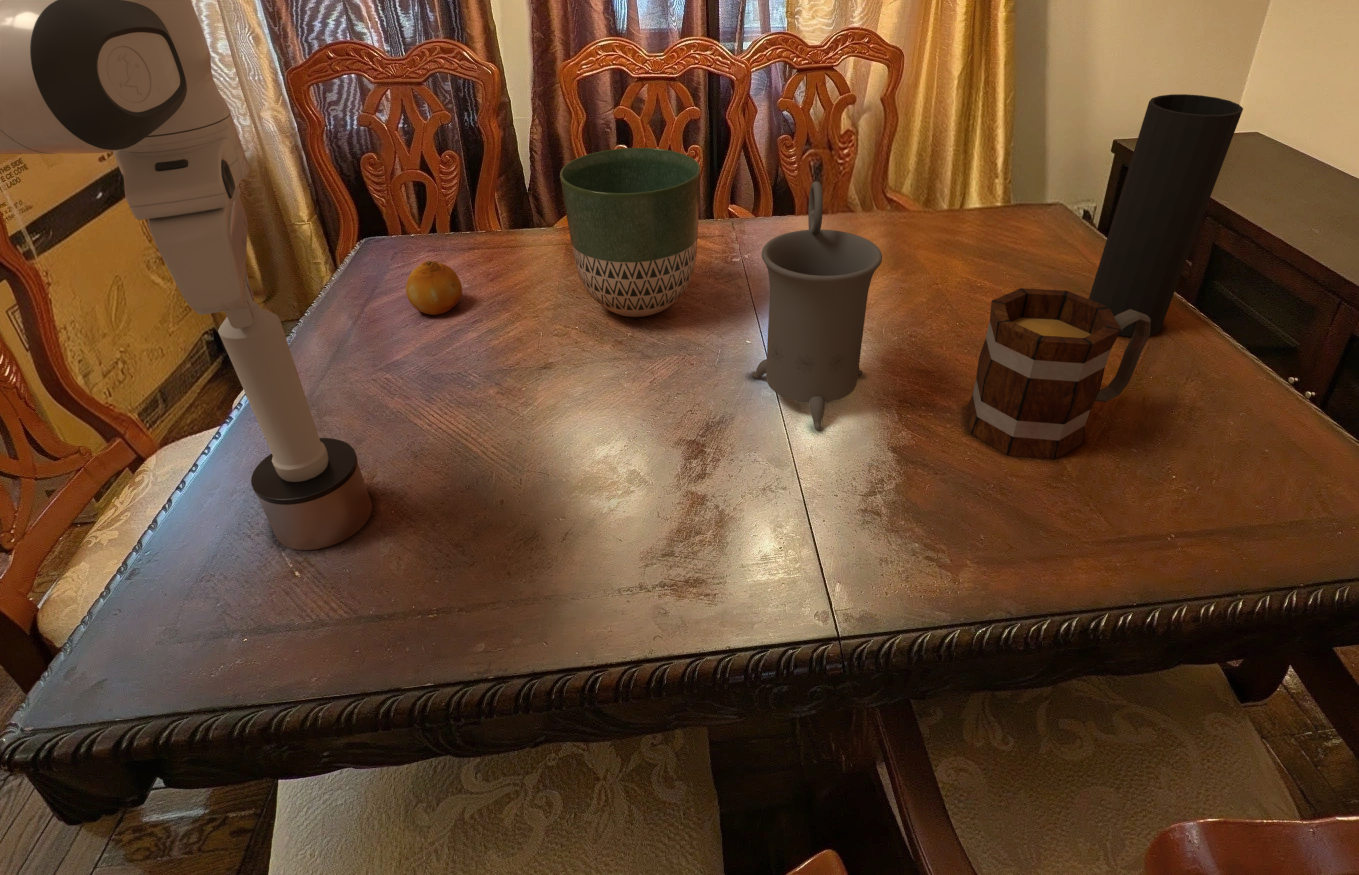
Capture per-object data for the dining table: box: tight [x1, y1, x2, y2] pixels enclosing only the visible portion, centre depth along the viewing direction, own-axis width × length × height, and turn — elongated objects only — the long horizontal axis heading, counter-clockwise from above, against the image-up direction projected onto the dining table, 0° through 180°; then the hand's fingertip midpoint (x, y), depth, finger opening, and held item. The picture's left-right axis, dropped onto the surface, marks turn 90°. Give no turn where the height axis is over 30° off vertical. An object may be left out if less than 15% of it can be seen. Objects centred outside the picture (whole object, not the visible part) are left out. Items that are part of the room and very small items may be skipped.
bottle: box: [217, 282, 328, 482], centre depth 75 cm, size 5×5×25 cm
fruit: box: [405, 260, 463, 316], centre depth 124 cm, size 8×8×8 cm
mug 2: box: [750, 180, 883, 431], centre depth 97 cm, size 19×15×25 cm
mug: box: [966, 287, 1151, 460], centre depth 93 cm, size 20×14×15 cm
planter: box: [559, 147, 701, 318], centre depth 118 cm, size 20×20×21 cm
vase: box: [1088, 93, 1244, 338], centre depth 108 cm, size 10×10×30 cm
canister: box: [250, 437, 373, 551], centre depth 84 cm, size 10×10×7 cm
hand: (244, 314), depth 72 cm, fingers closed on bottle, 3 cm apart
